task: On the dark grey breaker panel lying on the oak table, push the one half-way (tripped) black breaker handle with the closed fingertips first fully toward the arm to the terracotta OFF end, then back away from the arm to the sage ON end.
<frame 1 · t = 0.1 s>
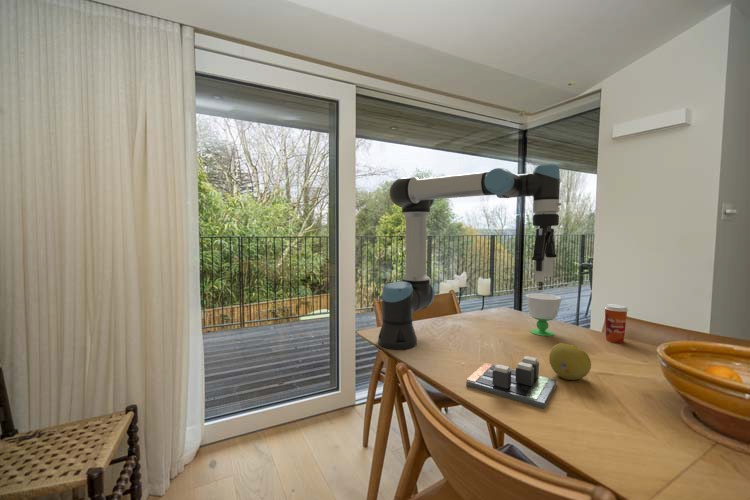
hand: (544, 278, 109), 28 cm above the table, fingers open, 13 cm apart
breaker far row: (529, 366, 96), point 5 cm above the table, slide at 4.5 cm
cup: (542, 333, 142), on the table
breaker tripped: (501, 375, 91), point 5 cm above the table, slide at 0.0 cm
panel: (511, 385, 94), on the table
breaker mid row: (524, 373, 92), point 5 cm above the table, slide at 4.5 cm
fruit: (569, 377, 100), on the table
paper cup: (614, 341, 132), on the table
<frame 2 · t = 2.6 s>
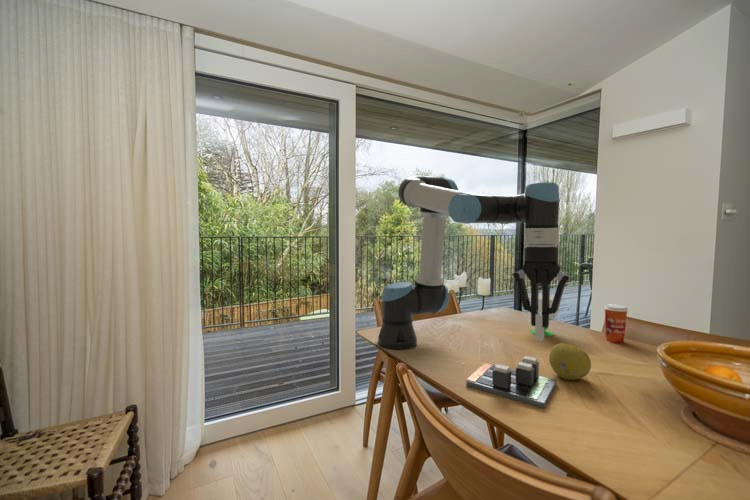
hand: (539, 339, 84), 17 cm above the table, fingers closed
nothing on the table moved.
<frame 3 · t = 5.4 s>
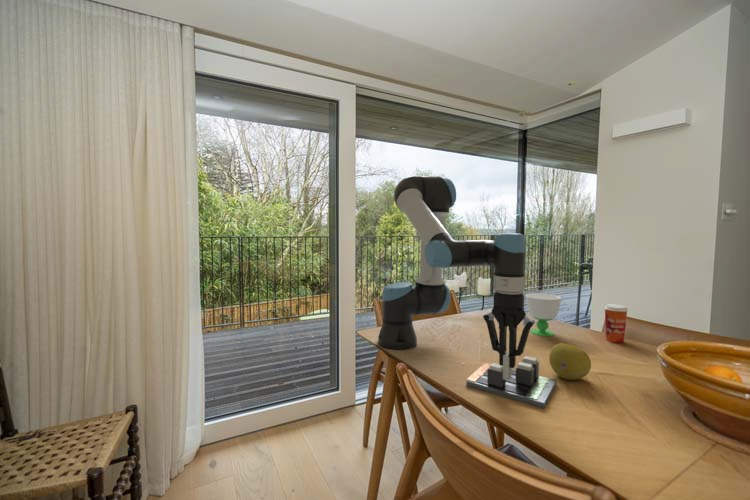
hand: (507, 378, 90), 4 cm above the table, fingers closed
breaker tripped: (496, 374, 91), point 5 cm above the table, slide at -1.4 cm, touching gripper
everything else where it was.
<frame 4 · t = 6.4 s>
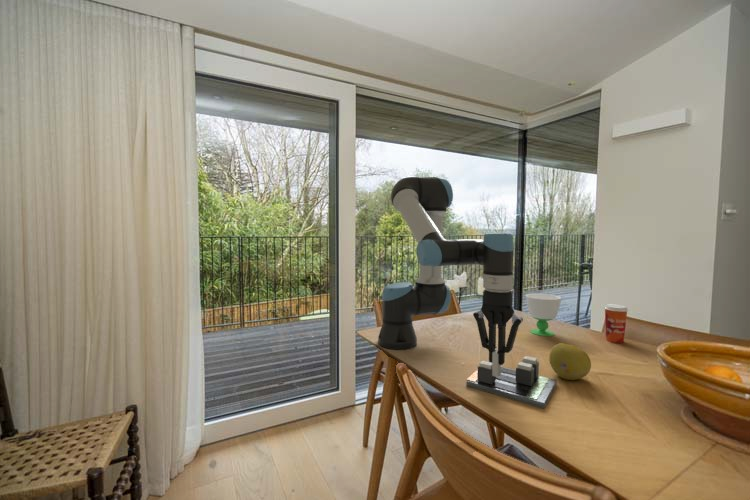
hand: (496, 374, 91), 4 cm above the table, fingers closed
breaker tripped: (486, 371, 93), point 5 cm above the table, slide at -4.2 cm, touching gripper
everything else where it was.
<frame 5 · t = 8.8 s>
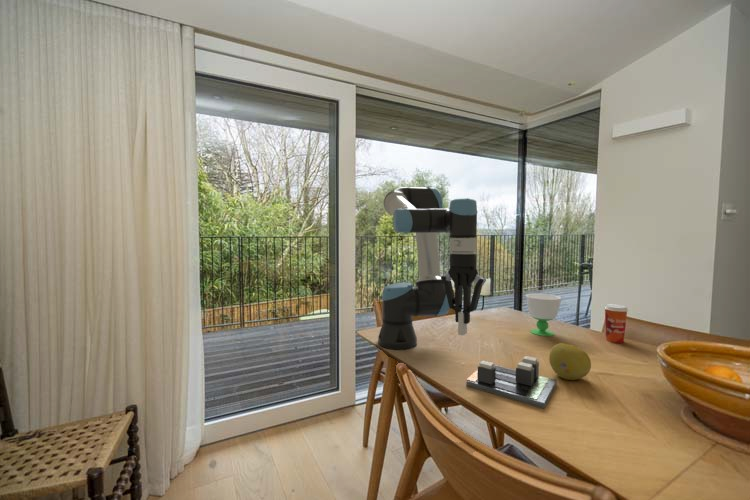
hand: (462, 333, 97), 14 cm above the table, fingers closed
breaker tripped: (486, 371, 93), point 4 cm above the table, slide at -4.2 cm
everything else where it was.
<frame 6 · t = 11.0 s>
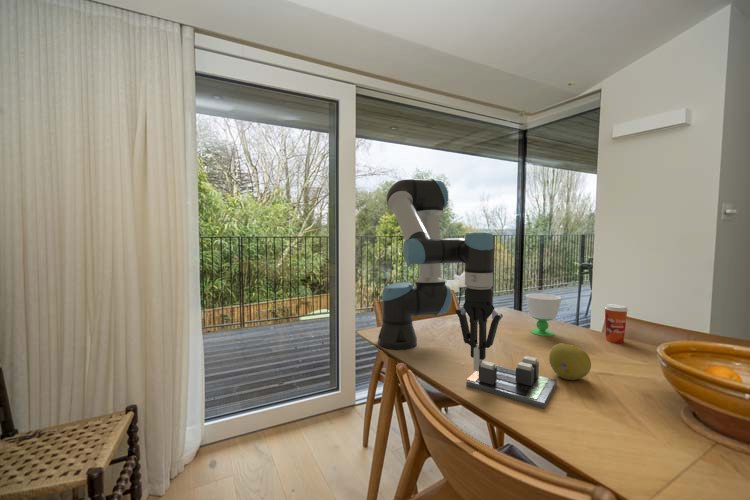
hand: (477, 369, 94), 5 cm above the table, fingers closed
breaker tripped: (487, 372, 93), point 5 cm above the table, slide at -3.9 cm, touching gripper
everything else where it was.
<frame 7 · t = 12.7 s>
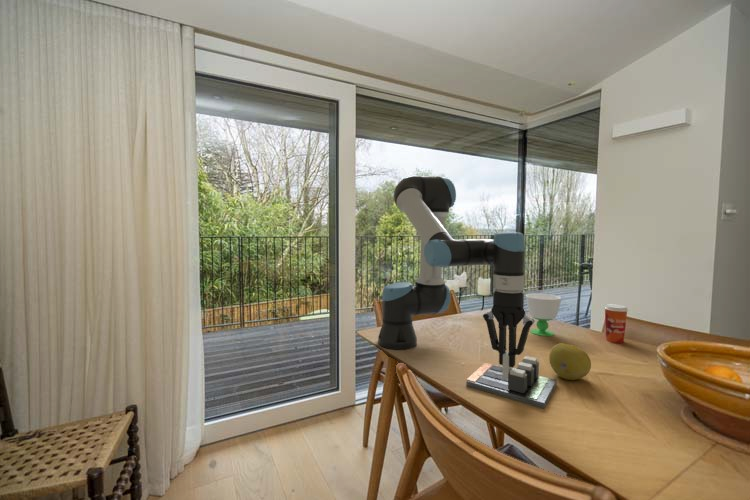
hand: (506, 377, 90), 4 cm above the table, fingers closed
breaker tripped: (517, 379, 88), point 5 cm above the table, slide at 4.1 cm, touching gripper
everything else where it was.
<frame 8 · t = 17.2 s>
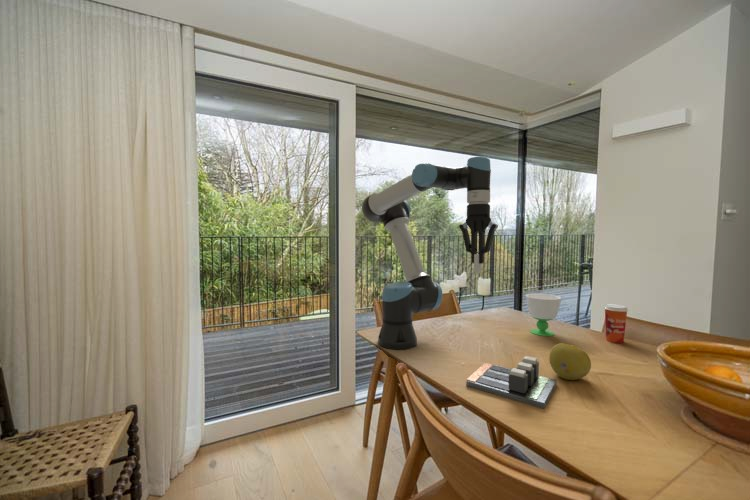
hand: (477, 272, 114), 29 cm above the table, fingers closed
breaker tripped: (518, 380, 88), point 5 cm above the table, slide at 4.2 cm
everything else where it was.
at the end: breaker tripped slide at 4.2 cm; breaker mid row slide at 4.5 cm; breaker far row slide at 4.5 cm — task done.
